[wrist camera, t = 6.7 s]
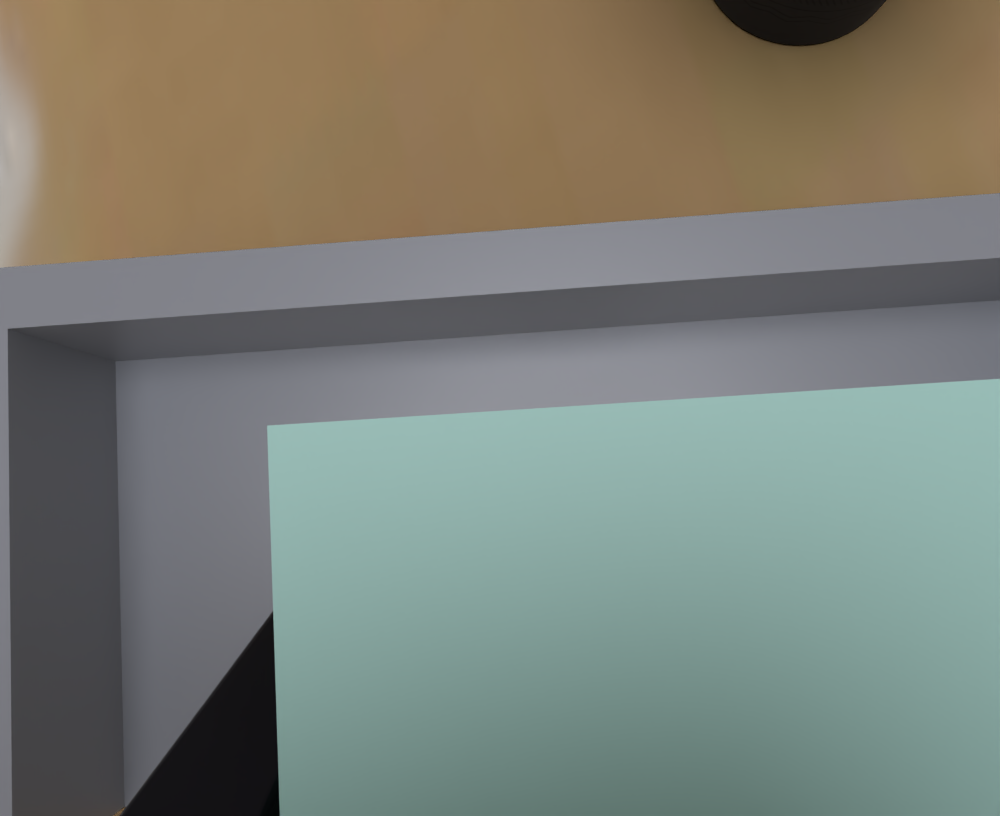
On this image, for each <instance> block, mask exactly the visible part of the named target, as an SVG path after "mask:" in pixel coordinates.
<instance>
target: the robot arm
mask: <svg viewBox="0 0 1000 816" xmlns="http://www.w3.org/2000/svg"><path fill="white" fill-rule="evenodd" d="M120 816H280V806H279V775H278V744H277V713H276V683H275V652H274V621H273V611H272V613H271V614H270V615H269V617H268V618H267V619H266V621H265V622H264V623H263V625H262V626H261V627H260V629H259V630H258V631H257V633H256V634H255V635H254V637H253V638H252V639H251V641H250V642H249V643H248V645H247V646H246V647H245V649H244V650H243V651H242V653H241V654H240V655H239V657H238V658H237V659H236V661H235V662H234V663H233V665H232V666H231V667H230V669H229V670H228V671H227V673H226V674H225V675H224V677H223V678H222V679H221V681H220V682H219V684H218V685H217V686H216V688H215V689H214V690H213V692H212V693H211V694H210V696H209V697H208V698H207V700H206V701H205V702H204V704H203V705H202V706H201V708H200V709H199V710H198V712H197V713H196V714H195V716H194V717H193V718H192V720H191V721H190V722H189V724H188V725H187V726H186V728H185V729H184V730H183V732H182V733H181V734H180V736H179V737H178V738H177V740H176V741H175V742H174V744H173V745H172V746H171V748H170V749H169V750H168V752H167V753H166V754H165V756H164V757H163V758H162V760H161V761H160V762H159V764H158V765H157V766H156V768H155V769H154V770H153V772H152V773H151V774H150V776H149V777H148V778H147V780H146V781H145V782H144V784H143V785H142V786H141V788H140V789H139V790H138V792H137V793H136V794H135V796H134V797H133V798H132V800H131V801H130V802H129V804H128V805H127V807H126V808H125V809H124V811H123V812H122V813H121V815H120Z"/></svg>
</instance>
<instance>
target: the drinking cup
mask: <svg viewBox="0 0 1000 816" xmlns="http://www.w3.org/2000/svg"><path fill="white" fill-rule="evenodd" d="M885 1H886V0H715V2H716V3H717V4H718V6H719V7H720V8H721V10H722V11H723V12H724V13H725V14H726V15H727V16H728V17H729V18H730V19H731V20H732V21H733V22H734V23H736V24H737V25H738V26H740V27H741V28H743V29H744V30H746V31H748V32H749V33H751V34H753V35H755V36H758V37H760V38H763V39H765V40H768V41H772V42H776V43H781V44H789V45H809V44H817V43H822V42H826V41H830V40H833V39H836V38H838V37H841V36H843V35H845V34H847V33H849V32H851V31H853V30H854V29H856V28H858V27H859V26H860V25H862V24H863V23H864V22H866V21H867V20H868V19H869V18H870V17H871V16H872V15H873V14H874V13H875V12H876V11H877V10H878V9H879V8H880V7H881V6H882V4H883V3H884V2H885Z"/></svg>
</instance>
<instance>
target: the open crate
mask: <svg viewBox="0 0 1000 816" xmlns="http://www.w3.org/2000/svg"><path fill="white" fill-rule="evenodd" d="M988 379H1000V193H997V194H983V195H970V196H956V197H943V198H930V199H916V200H903V201H889V202H876V203H863V204H849V205H836V206H822V207H809V208H796V209H782V210H769V211H755V212H742V213H729V214H715V215H702V216H688V217H675V218H662V219H648V220H635V221H621V222H608V223H595V224H581V225H568V226H555V227H541V228H528V229H514V230H501V231H488V232H474V233H461V234H447V235H434V236H421V237H407V238H394V239H380V240H367V241H354V242H340V243H327V244H313V245H300V246H287V247H273V248H260V249H246V250H233V251H220V252H206V253H193V254H179V255H166V256H153V257H139V258H126V259H112V260H99V261H86V262H72V263H59V264H46V265H32V266H19V267H5V268H0V816H113V815H114V814H115V813H117V812H118V811H120V810H121V809H122V808H124V807H127V805H128V804H129V802H130V801H131V800H132V798H133V797H134V796H135V794H136V793H137V792H138V790H139V789H140V788H141V786H142V785H143V784H144V782H145V781H146V780H147V778H148V777H149V776H150V774H151V773H152V772H153V770H154V769H155V768H156V766H157V765H158V764H159V762H160V761H161V760H162V758H163V757H164V756H165V754H166V753H167V752H168V750H169V749H170V748H171V746H172V745H173V744H174V742H175V741H176V740H177V738H178V737H179V736H180V734H181V733H182V732H183V730H184V729H185V728H186V726H187V725H188V724H189V722H190V721H191V720H192V718H193V717H194V716H195V714H196V713H197V712H198V710H199V709H200V708H201V706H202V705H203V704H204V702H205V701H206V700H207V698H208V697H209V696H210V694H211V693H212V692H213V690H214V689H215V688H216V686H217V685H218V684H219V682H220V681H221V679H222V678H223V677H224V675H225V674H226V673H227V671H228V670H229V669H230V667H231V666H232V665H233V663H234V662H235V661H236V659H237V658H238V657H239V655H240V654H241V653H242V651H243V650H244V649H245V647H246V646H247V645H248V643H249V642H250V641H251V639H252V638H253V637H254V635H255V634H256V633H257V631H258V630H259V629H260V627H261V626H262V625H263V623H264V622H265V621H266V619H267V618H268V617H269V615H270V614H271V613H272V611H273V591H272V560H271V529H270V499H269V468H268V437H267V426H269V425H284V424H300V423H315V422H331V421H347V420H362V419H378V418H394V417H409V416H425V415H441V414H456V413H472V412H488V411H503V410H519V409H535V408H550V407H566V406H582V405H597V404H613V403H628V402H644V401H660V400H675V399H691V398H707V397H722V396H738V395H754V394H769V393H785V392H801V391H816V390H832V389H848V388H863V387H879V386H895V385H910V384H926V383H941V382H957V381H973V380H988Z"/></svg>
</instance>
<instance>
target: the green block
mask: <svg viewBox="0 0 1000 816" xmlns="http://www.w3.org/2000/svg"><path fill="white" fill-rule="evenodd" d="M267 437H268V468H269V499H270V529H271V560H272V591H273V621H274V652H275V683H276V713H277V744H278V775H279V806H280V816H1000V379H988V380H973V381H957V382H941V383H926V384H910V385H895V386H879V387H863V388H848V389H832V390H816V391H801V392H785V393H769V394H754V395H738V396H722V397H707V398H691V399H675V400H660V401H644V402H628V403H613V404H597V405H582V406H566V407H550V408H535V409H519V410H503V411H488V412H472V413H456V414H441V415H425V416H409V417H394V418H378V419H362V420H347V421H331V422H315V423H300V424H284V425H269V426H267Z"/></svg>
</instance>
